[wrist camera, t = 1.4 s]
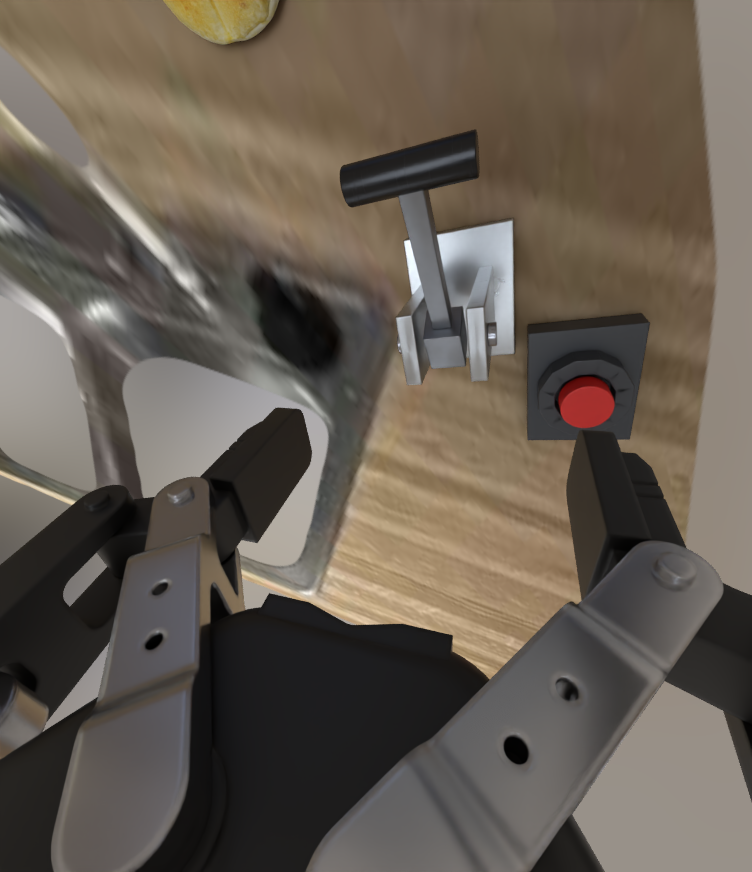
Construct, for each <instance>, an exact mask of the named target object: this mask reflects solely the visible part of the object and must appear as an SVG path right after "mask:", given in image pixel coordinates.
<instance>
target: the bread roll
mask: <svg viewBox="0 0 752 872" xmlns="http://www.w3.org/2000/svg"><path fill="white" fill-rule="evenodd" d="M163 1H164V2H165V3H166V5H167V6H168V7H169V8H170V10H171V11H172V12H173V13H174V14H175V15H176V17H177V18H178V19H179V20H180V21H181V22H182V23H183V24H184V25H185V26H187V27H188V28H189V29H190V30H192V31H193V32H194V33H196V34H197V35H199V36H201V37H202V38H204V39H206V40H208V41H211V42H213V43H217V44H222V45H225V44H230V43H233V42H235V41H245V40H248V39H251V38H253V37H254V36H256V35H257V34H258V33H260V32H261V31H262V30H263V29H264V28H265V27H266V25H267V24H268V23H269V22H270V21H271V19H272V18H273V16H274V13H275V11H276V8H277V6H278V2H279V0H163Z"/></svg>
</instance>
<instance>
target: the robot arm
mask: <svg viewBox="0 0 752 872" xmlns="http://www.w3.org/2000/svg"><path fill="white" fill-rule="evenodd" d="M311 456H312V450H311V446H310V441H309V436H308V432H307V428H306V424H305V419H304V416H303V413H302V411H301V410H299V409H290V408H275V409H274V410H273V411H272V412H271V413H270V414H269V415H268V416H267V417H266V418H265V419H264V420H263V421H262V422H259V423H258V424H256V425H254V426H253V427H251V428H249V429H247V430H246V431H245V432H244V433H243V434H242V435H241V436H240V437H239V438H238V439H237V442H234V443H233V444H232V445H231V446H230V447H229V450H226V451H225V452H224V453H223V454H222V455H221V456H220V457H219V458H218V459H217V460H216V461H215V462H214V463H213V465H212V466H211V467H209V469H208V470H206V471H205V473H204V474H202V475H201V477H187V478H183V479H180V480H177V481H175V482H173V483H171V484H169V485H167V486H166V487H164V488H163V489H162V490H161V491H160V492H159V493H158V494H157V495H156V497H151V498H142V499H133V498H132V496H131V495H130V493H129V491H128V490H127V488H126V487H124V486H121V485H110V486H105V487H102V488H99V489H96V490H94V491H92V492H90V493H88V494H86V495H85V496H83V497H82V498H81V499H79V500H78V501H77V502H75V503H74V504H73V505H72V506H71V507H69V508H68V509H67V510H66V511H65V512H63V513H62V514H61V515H60V516H59V517H57V518H56V519H55V520H54V521H53V522H51V523H50V524H49V525H48V526H47V527H46V528H45V529H43V530H42V531H41V532H40V533H38V534H37V535H36V536H35V537H34V538H32V539H31V540H30V541H29V542H27V543H26V544H25V545H24V546H23V547H21V548H20V549H19V550H18V551H17V552H16V553H14V554H13V555H12V556H11V557H9V558H8V559H7V560H6V561H5V562H3V563H2V564H1V565H0V872H605V871H604V870H603V868H602V866H601V865H600V863H599V861H598V859H597V857H596V856H595V854H594V852H593V850H592V849H591V847H590V845H589V843H588V842H587V840H586V838H585V836H584V835H583V833H582V831H581V829H580V828H579V826H578V824H577V822H576V821H575V819H574V817H573V815H572V814H573V812H574V811H575V809H576V808H577V806H578V805H579V804H580V802H581V801H582V799H583V798H584V796H585V795H586V794H587V792H588V791H589V789H590V788H591V786H592V785H593V783H594V782H595V781H596V779H597V778H598V776H599V775H600V773H601V772H602V770H603V769H604V768H605V766H606V765H607V763H608V762H609V760H610V759H611V757H612V756H613V754H614V753H615V751H616V750H617V748H618V747H619V746H620V744H621V743H622V741H623V740H624V738H625V737H626V736H627V734H628V733H629V731H630V730H631V728H632V727H633V726H634V724H635V723H636V721H637V720H638V718H639V717H640V715H641V714H642V713H643V711H644V710H645V708H646V707H647V705H648V704H649V702H650V701H651V700H652V698H653V697H654V695H655V694H656V692H657V691H658V689H659V688H660V687H661V685H662V684H663V682H664V681H666V682H668V683H670V684H672V685H674V686H676V687H678V688H680V689H682V690H684V691H686V692H688V693H690V694H691V695H694V696H696V697H698V698H699V699H701V700H703V701H705V702H707V703H710V704H711V705H713V706H715V707H717V708H719V709H721V710H723V711H724V714H725V718H726V721H727V724H728V727H729V730H730V733H731V736H732V740H733V743H734V747H735V750H736V753H737V756H738V759H739V763H740V766H741V768H742V772H743V775H744V779H745V782H746V785H747V788H748V791H749V795H750V798H751V801H752V595H750V594H747V593H744V592H741V591H739V590H737V589H734V588H732V587H730V586H728V585H726V584H724V583H722V580H721V578H720V576H719V574H718V573H717V572H716V570H715V569H714V568H713V567H712V566H711V565H710V564H709V563H708V562H707V561H706V560H704V559H703V558H702V557H701V556H699V555H697V554H696V553H694V552H693V551H691V550H689V549H687V548H686V546H685V544H684V541H683V539H682V537H681V534H680V532H679V530H678V528H677V525H676V523H675V521H674V518H673V516H672V514H671V511H670V509H669V507H668V505H667V502H666V500H665V499H664V498H663V497H664V495H663V493H662V491H661V488H660V486H658V482H657V479H656V477H655V475H654V472H653V470H652V468H651V467H650V466H649V465H648V464H647V463H646V462H645V461H644V460H643V459H641V458H640V457H639V456H638V455H637V454H636V453H625V452H621V450H620V447H619V445H618V442H617V439H616V436H615V434H614V432H608V431H594V430H580V431H579V433H578V436H577V439H576V444H575V448H574V452H573V456H572V461H571V465H570V469H569V473H568V479H567V490H566V494H567V504H568V510H569V517H570V524H571V531H572V538H573V544H574V551H575V558H576V565H577V572H578V579H579V585H580V592H581V599H582V601H581V602H580V603H579V604H577V605H576V604H575V603H574V602H569V603H567V604H566V605H564V606H563V607H562V608H561V609H560V610H559V611H558V612H557V613H556V614H555V615H554V616H553V617H552V618H551V619H550V620H549V621H548V622H547V623H546V624H545V625H544V626H543V627H542V628H541V629H540V630H539V631H538V632H537V633H536V634H535V635H534V636H533V637H532V638H531V639H530V640H529V641H528V642H527V643H526V644H525V645H524V646H523V647H522V648H521V649H520V650H519V651H518V652H517V653H516V654H515V655H514V656H513V657H512V658H511V659H510V660H509V661H508V662H507V663H506V664H505V665H504V666H503V667H502V668H501V669H500V670H499V671H498V672H497V673H496V674H495V675H494V676H493V677H492V678H491V679H490V680H489V679H488V677H487V676H486V675H485V674H484V673H482V672H481V671H480V670H479V669H478V668H477V667H476V666H475V665H473V664H472V663H470V662H469V661H468V660H466V659H465V658H463V657H462V656H460V655H458V654H456V653H454V652H452V640H453V635H449V634H444V633H440V632H436V631H431V630H427V629H423V628H418V627H414V626H409V625H405V624H380V625H350V624H347V623H345V622H343V621H341V620H339V619H338V618H336V617H334V616H332V615H331V614H329V613H327V612H325V611H323V610H322V609H320V608H318V607H316V606H315V605H313V604H311V603H309V602H305V601H300V600H296V599H292V598H287V597H283V596H278V595H274V594H270V593H269V595H268V596H267V598H266V600H265V602H264V604H263V605H262V607H261V608H253V609H247V610H245V605H244V596H243V585H242V575H241V564H240V554H239V551H238V548H237V545H238V544H239V543H240V541H241V540H245V541H250V542H255V543H258V541H259V540H260V538H261V537H262V535H263V534H264V532H265V531H266V529H267V528H268V526H269V525H270V523H271V522H272V520H273V519H274V518H275V516H276V515H277V513H278V512H279V510H280V509H281V507H282V506H283V504H284V503H285V501H286V500H287V498H288V497H289V495H290V494H291V492H292V491H293V489H294V488H295V486H296V485H297V483H298V482H299V480H300V479H301V478H302V476H303V475H304V473H305V472H306V470H307V469H308V467H309V465H310V462H311ZM96 552H97V553H98V555H99V556H100V557H101V559H102V560H103V561H104V563H105V564H106V565H107V568H106V569H105V570H104V571H103V572H102V573H101V574H100V575H99V576H98V577H97V578H96V579H95V581H94V582H93V583H92V584H91V585H90V586H89V587H88V588H87V589H86V590H85V591H84V592H83V593H82V594H81V596H80V597H79V598H78V599H77V600H76V601H75V602H74V603H73V604H72V605H71V606H70V607H69V606H68V605H67V603H66V602H65V601H64V599H63V591H64V588H65V586H66V584H67V582H68V581H69V580H70V578H71V577H72V576H74V574H75V573H77V572H78V571H79V570H80V568H81V567H82V566H83V565H84V564H85V563H86V562H87V561H88V560H89V559H90V558H91V557H92V556H93V555H94V554H95V553H96ZM109 642H110V643H109ZM108 643H109V647H108V652H107V657H106V662H105V667H104V671H103V676H102V680H101V685H100V690H99V694H98V697H97V698H96V699H94V700H92V701H91V702H89V703H87V704H86V705H84V706H83V707H81V708H80V709H78V710H77V711H75V712H74V713H72V714H70V715H69V716H67V717H66V718H64V719H62V720H61V721H59V722H58V723H56V724H55V725H53V726H51V727H50V728H48V729H47V730H45V731H44V732H42V731H43V730H44V727H45V725H46V722H47V721H48V720H49V719H50V717H51V716H52V715H53V713H54V712H55V711H56V710H57V708H58V707H59V706H60V705H61V703H62V702H63V701H64V699H65V698H66V697H67V695H68V694H69V693H70V692H71V690H72V689H73V688H74V687H75V685H76V684H77V682H79V680H80V679H81V678H82V676H83V675H84V674H85V673H86V671H87V670H88V669H89V667H90V666H91V665H92V663H93V662H94V661H95V660H96V659H97V657H98V656H99V654H100V653H101V652H102V651H103V650H104V648H105V647H106V646H107V644H108Z"/></svg>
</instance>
